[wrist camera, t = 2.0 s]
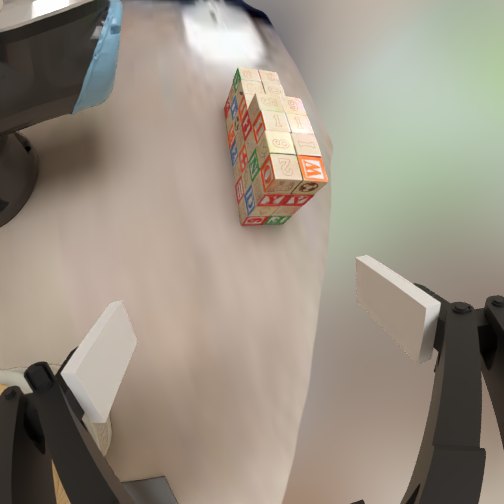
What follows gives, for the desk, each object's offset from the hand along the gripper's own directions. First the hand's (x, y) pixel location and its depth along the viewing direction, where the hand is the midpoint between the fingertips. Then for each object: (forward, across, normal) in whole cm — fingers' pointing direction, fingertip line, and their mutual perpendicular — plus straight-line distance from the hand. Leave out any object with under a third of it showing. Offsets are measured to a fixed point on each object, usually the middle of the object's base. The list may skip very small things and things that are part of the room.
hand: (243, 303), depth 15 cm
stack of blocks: (+30, +5, +8) cm, 31 cm away
